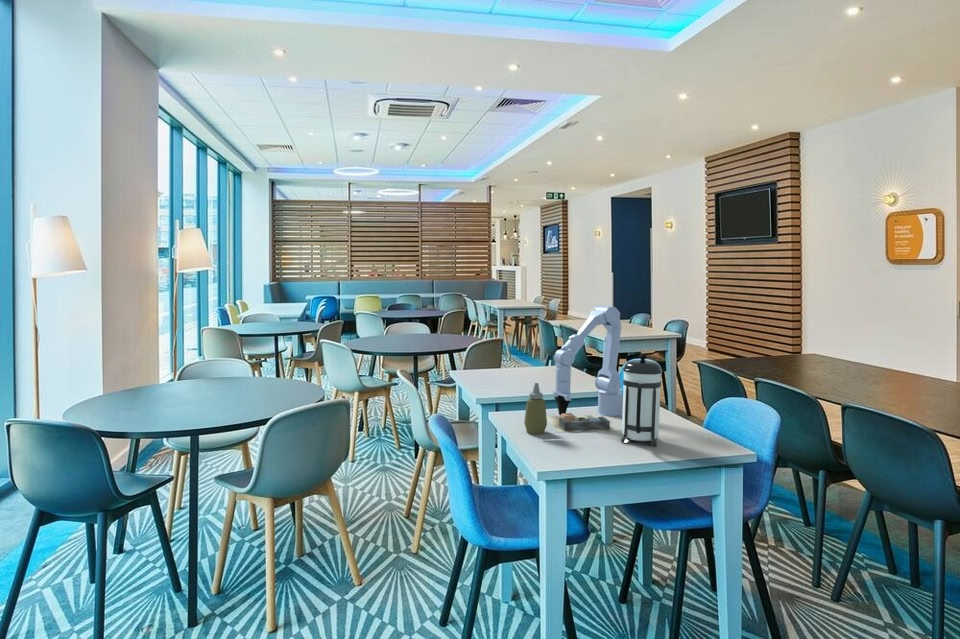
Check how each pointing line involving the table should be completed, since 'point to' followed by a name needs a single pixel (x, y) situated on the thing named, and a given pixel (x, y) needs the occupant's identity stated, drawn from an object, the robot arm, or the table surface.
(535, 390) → the squeeze bottle
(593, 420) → the slate-blue plug
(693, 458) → the table surface
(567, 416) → the peach square block
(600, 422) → the comb board
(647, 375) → the coffee press
